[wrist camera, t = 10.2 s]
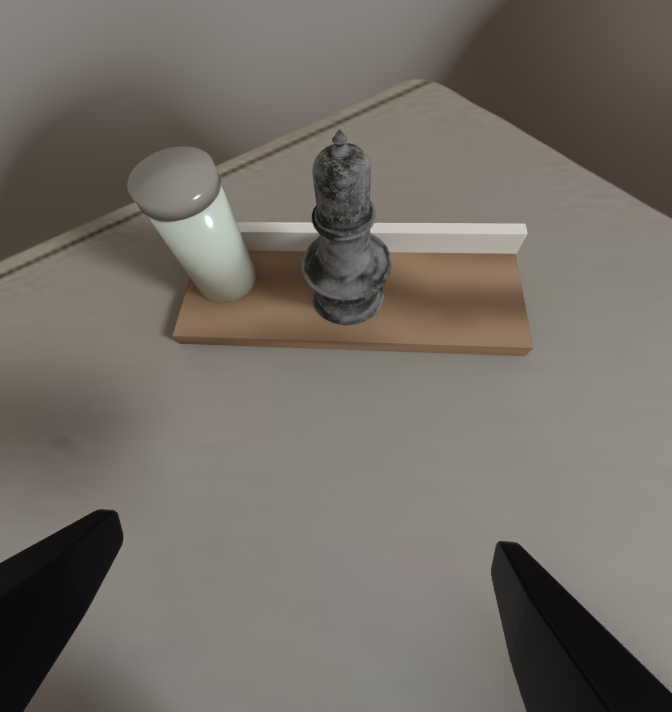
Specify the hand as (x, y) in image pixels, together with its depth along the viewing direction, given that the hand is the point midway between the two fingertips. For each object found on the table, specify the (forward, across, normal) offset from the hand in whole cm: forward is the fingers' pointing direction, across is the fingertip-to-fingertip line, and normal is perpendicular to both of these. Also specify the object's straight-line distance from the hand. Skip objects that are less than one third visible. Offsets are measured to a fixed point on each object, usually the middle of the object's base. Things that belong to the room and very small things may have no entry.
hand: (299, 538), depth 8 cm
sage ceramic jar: (+21, +10, -3) cm, 23 cm away
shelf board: (+21, 0, -2) cm, 21 cm away
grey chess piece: (+20, 0, -2) cm, 20 cm away
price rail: (+24, 0, -5) cm, 24 cm away
